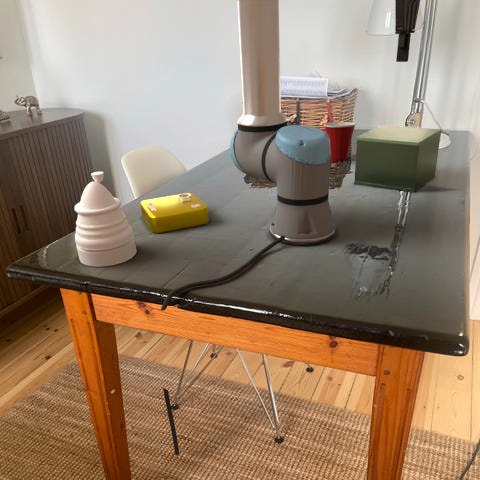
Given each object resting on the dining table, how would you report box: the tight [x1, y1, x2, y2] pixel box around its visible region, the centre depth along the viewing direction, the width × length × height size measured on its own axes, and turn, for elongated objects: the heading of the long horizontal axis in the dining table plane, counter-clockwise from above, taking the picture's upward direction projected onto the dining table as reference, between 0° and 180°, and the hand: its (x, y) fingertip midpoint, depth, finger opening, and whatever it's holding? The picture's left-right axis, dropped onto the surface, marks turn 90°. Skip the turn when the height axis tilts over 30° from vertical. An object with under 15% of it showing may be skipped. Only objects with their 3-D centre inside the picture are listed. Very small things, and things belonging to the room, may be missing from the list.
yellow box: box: [140, 192, 210, 234], centre depth 132 cm, size 15×15×5 cm
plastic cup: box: [323, 121, 357, 162], centre depth 173 cm, size 11×11×12 cm
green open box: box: [353, 132, 442, 193], centre depth 148 cm, size 17×18×13 cm
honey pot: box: [74, 171, 138, 268], centre depth 112 cm, size 13×13×18 cm
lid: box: [355, 124, 442, 146], centre depth 145 cm, size 18×18×1 cm
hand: (402, 61), depth 137 cm, fingers closed
